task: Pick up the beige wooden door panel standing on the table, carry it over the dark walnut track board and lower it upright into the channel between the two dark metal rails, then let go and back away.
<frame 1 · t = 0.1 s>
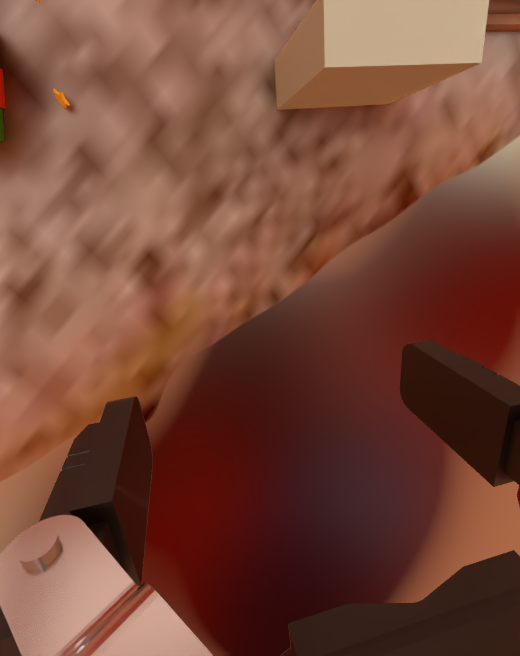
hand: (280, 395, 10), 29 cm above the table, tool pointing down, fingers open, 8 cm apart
door panel: (334, 83, 34), on the table
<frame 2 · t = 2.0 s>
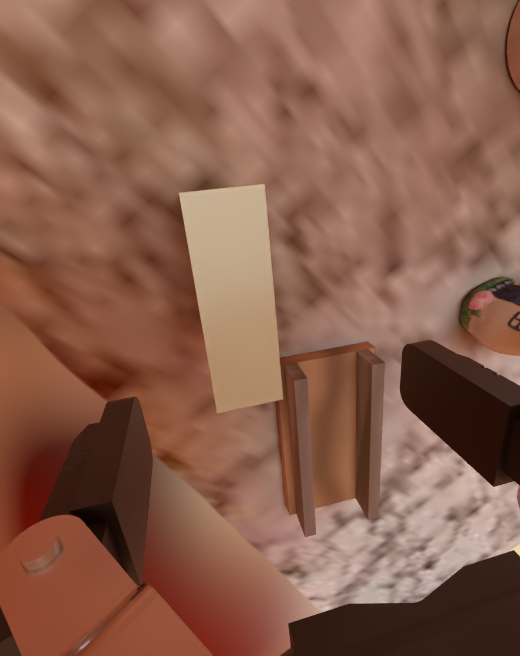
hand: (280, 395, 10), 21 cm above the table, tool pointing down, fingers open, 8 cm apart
decorative ornament: (488, 305, 37), on the table
door track: (323, 428, 38), on the table
door panel: (216, 268, 29), on the table
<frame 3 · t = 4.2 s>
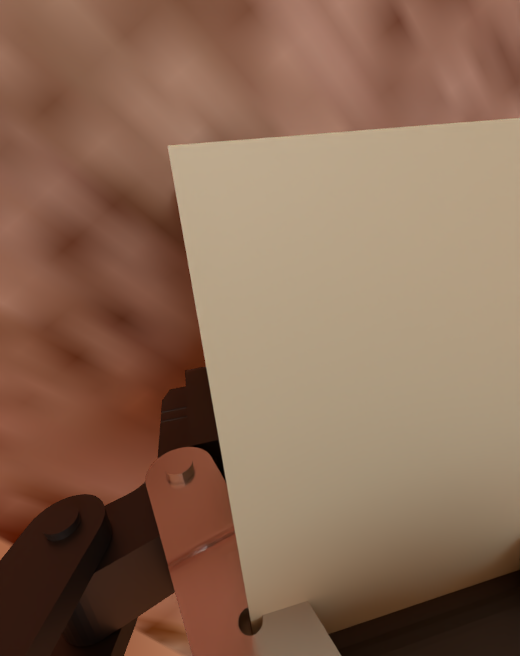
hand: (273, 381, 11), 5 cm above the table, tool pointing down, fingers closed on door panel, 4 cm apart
door panel: (246, 329, 15), on the table, touching gripper
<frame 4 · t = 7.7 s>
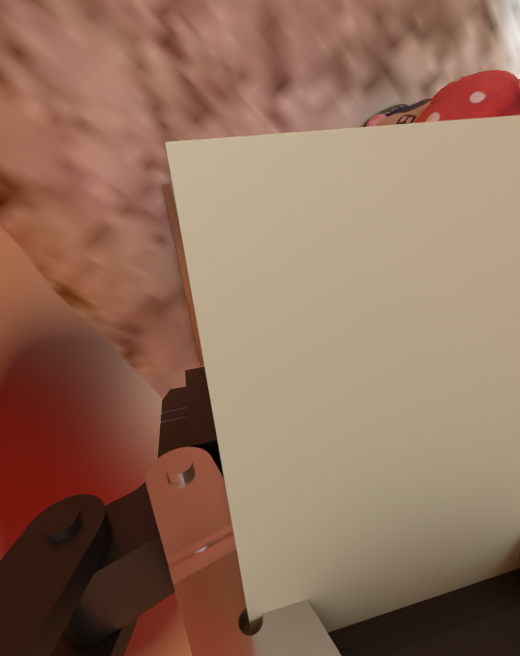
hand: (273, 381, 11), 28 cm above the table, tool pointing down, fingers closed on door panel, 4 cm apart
decorative ornament: (390, 140, 36), on the table
door track: (229, 273, 38), on the table
door panel: (246, 328, 15), point 23 cm above the table, touching gripper
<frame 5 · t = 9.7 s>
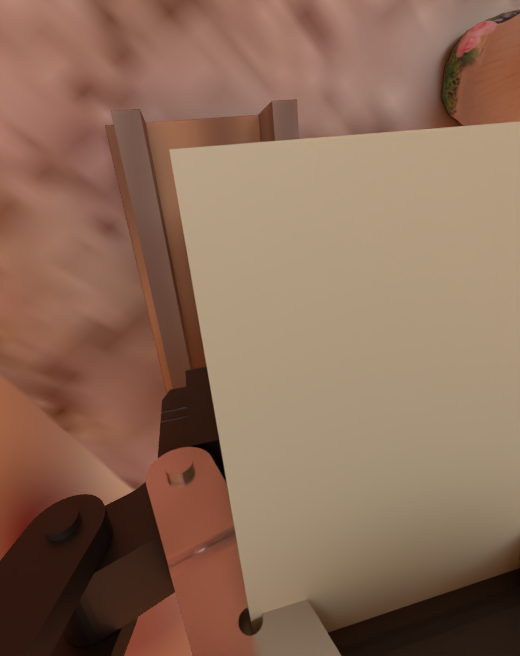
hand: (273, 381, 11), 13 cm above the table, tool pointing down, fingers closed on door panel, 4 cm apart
decorative ornament: (489, 77, 23), on the table
door track: (224, 285, 23), on the table
door panel: (246, 329, 15), point 9 cm above the table, touching gripper
when the fingers open (8 cm above the table, at t = 11.4 s): door panel drops 1 cm, resting on door track.
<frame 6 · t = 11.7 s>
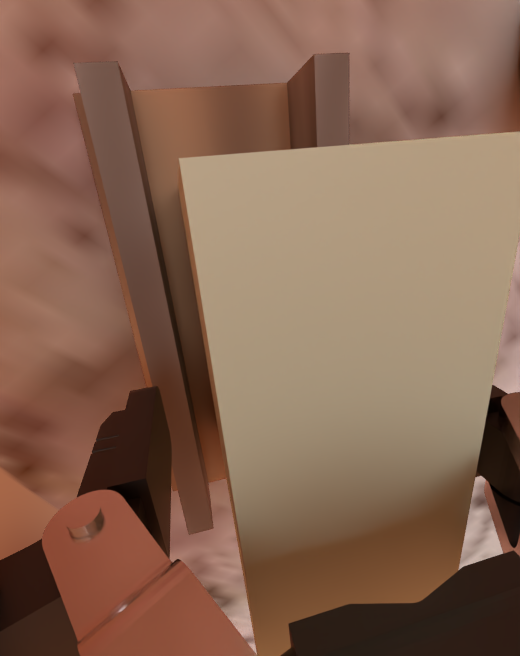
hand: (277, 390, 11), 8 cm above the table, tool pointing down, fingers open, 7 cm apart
door track: (235, 309, 18), on the table
door panel: (241, 317, 17), point 1 cm above the table, touching door track
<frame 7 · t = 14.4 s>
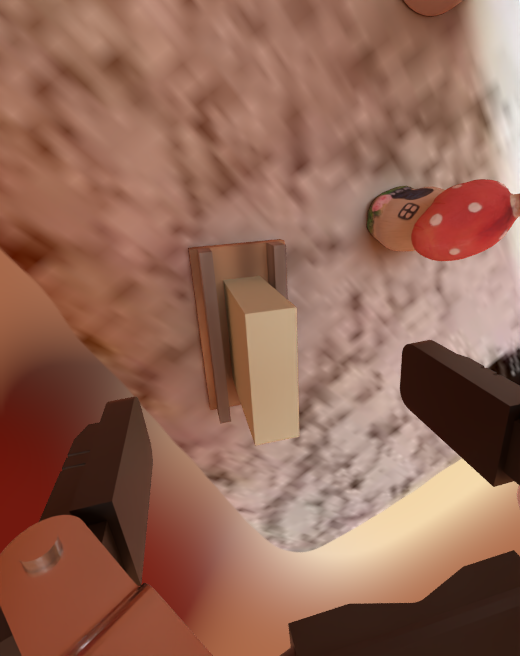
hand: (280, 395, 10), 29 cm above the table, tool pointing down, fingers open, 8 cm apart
decorative ornament: (394, 215, 40), on the table
door track: (242, 326, 40), on the table
door panel: (245, 330, 39), point 1 cm above the table, touching door track
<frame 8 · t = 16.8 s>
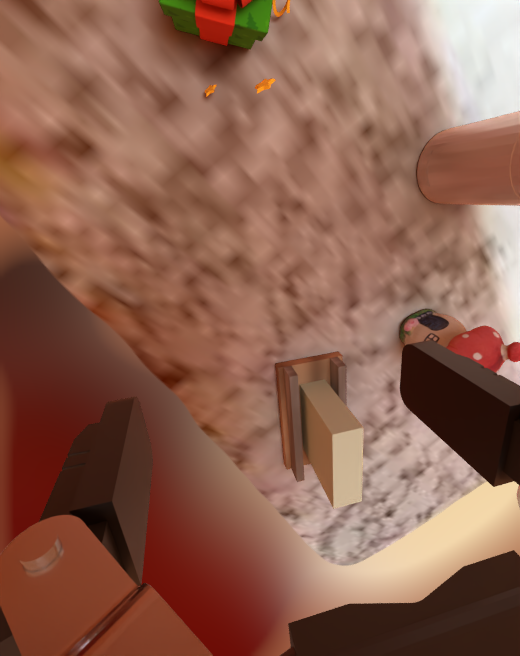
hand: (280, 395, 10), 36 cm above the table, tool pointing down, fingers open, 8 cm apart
gift wrap: (234, 12, 36), on the table
decorative ornament: (419, 326, 55), on the table
door track: (309, 409, 56), on the table
door panel: (313, 415, 54), point 1 cm above the table, touching door track
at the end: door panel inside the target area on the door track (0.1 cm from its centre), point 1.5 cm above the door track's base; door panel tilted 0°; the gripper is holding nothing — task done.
